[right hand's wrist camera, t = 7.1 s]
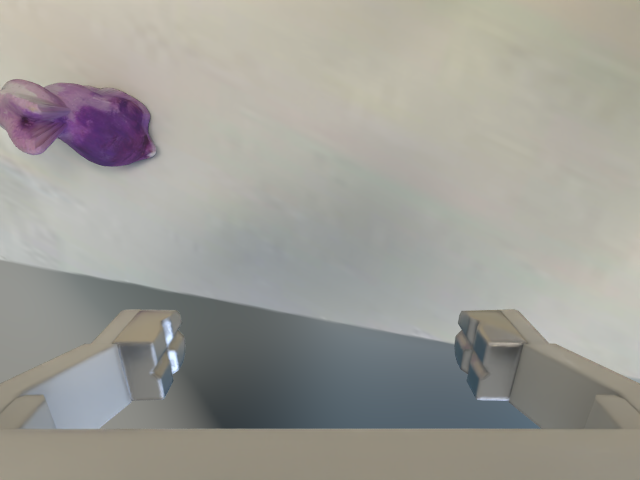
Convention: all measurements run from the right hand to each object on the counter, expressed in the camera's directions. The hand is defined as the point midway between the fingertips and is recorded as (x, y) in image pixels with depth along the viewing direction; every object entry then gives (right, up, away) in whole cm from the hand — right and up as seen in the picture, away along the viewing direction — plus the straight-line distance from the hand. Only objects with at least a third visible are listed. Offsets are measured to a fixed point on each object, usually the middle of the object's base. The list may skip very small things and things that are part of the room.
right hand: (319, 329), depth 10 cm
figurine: (-25, +17, +32) cm, 44 cm away
